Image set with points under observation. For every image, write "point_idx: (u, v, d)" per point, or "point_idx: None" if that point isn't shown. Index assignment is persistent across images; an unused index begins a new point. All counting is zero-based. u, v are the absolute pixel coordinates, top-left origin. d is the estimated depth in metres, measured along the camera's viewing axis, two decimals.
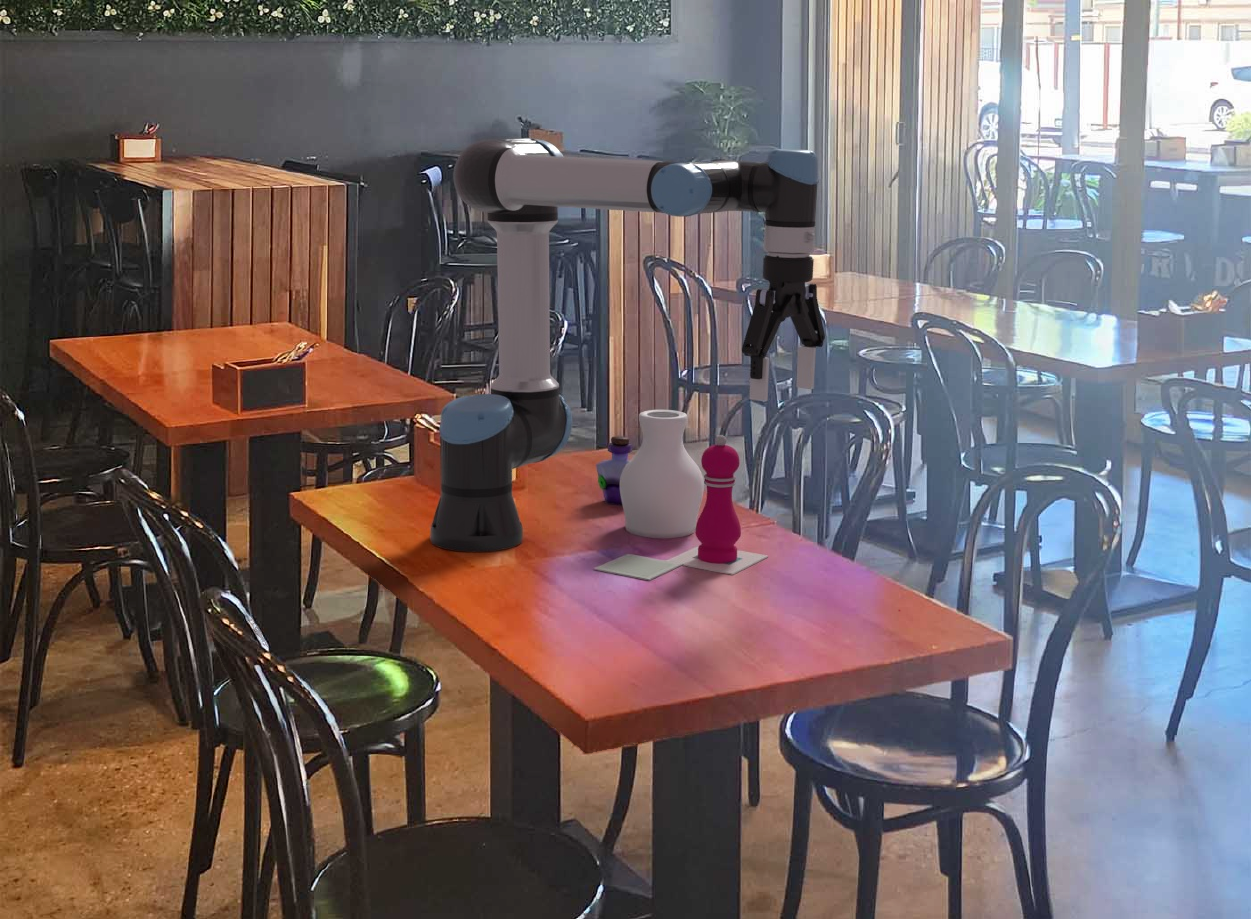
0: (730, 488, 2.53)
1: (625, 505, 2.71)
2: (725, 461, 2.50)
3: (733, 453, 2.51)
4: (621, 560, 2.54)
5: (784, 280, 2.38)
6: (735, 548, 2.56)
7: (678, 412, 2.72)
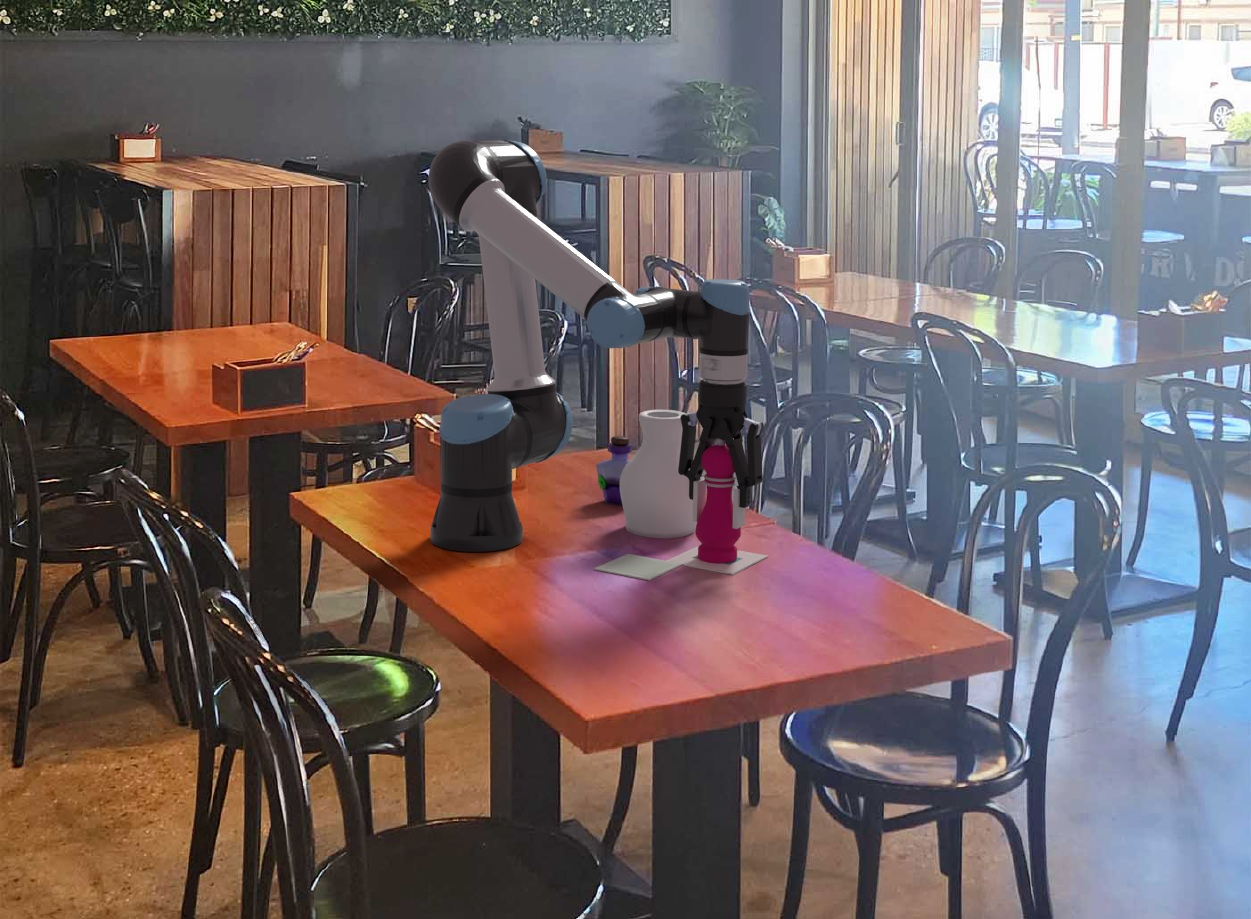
0: (730, 488, 2.53)
1: (625, 505, 2.71)
2: (725, 461, 2.50)
3: None
4: (621, 560, 2.54)
5: None
6: (735, 548, 2.56)
7: (678, 412, 2.72)
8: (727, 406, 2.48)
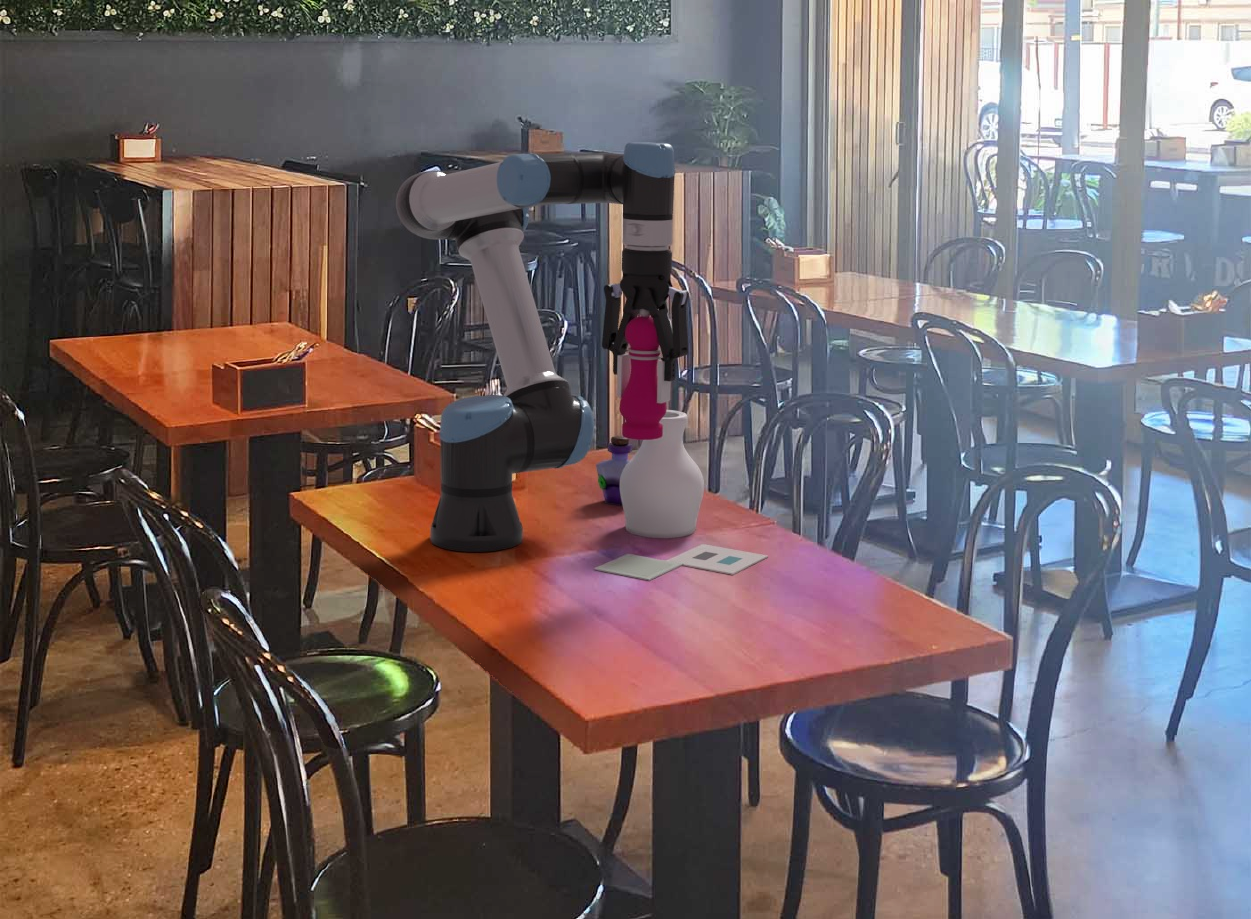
0: (655, 361, 2.44)
1: (625, 505, 2.71)
2: (649, 332, 2.41)
3: None
4: (621, 560, 2.54)
5: None
6: (660, 425, 2.46)
7: (678, 412, 2.72)
8: (651, 273, 2.38)
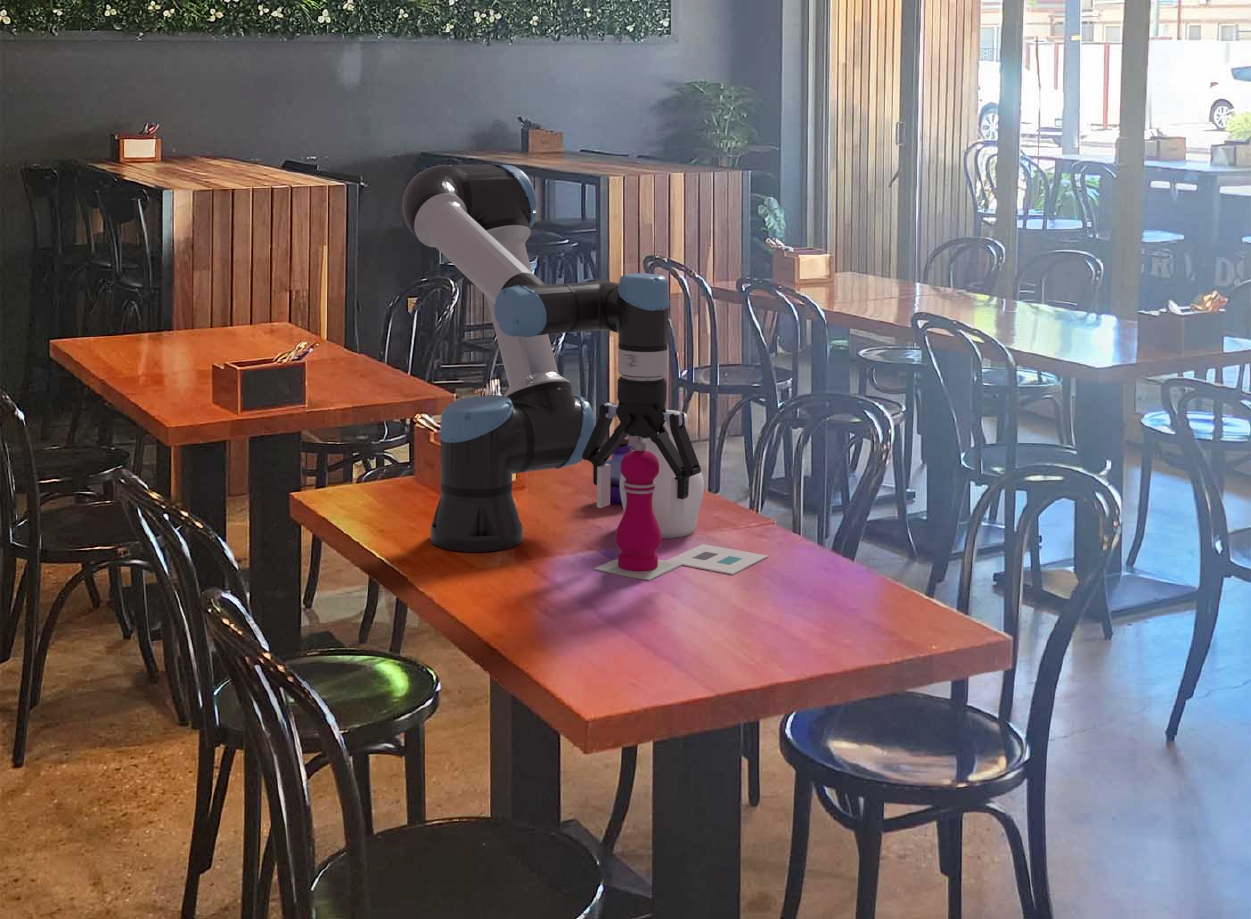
0: (650, 494, 2.48)
1: (625, 505, 2.71)
2: (644, 467, 2.45)
3: (652, 458, 2.46)
4: None
5: None
6: (656, 556, 2.51)
7: None
8: (646, 403, 2.42)
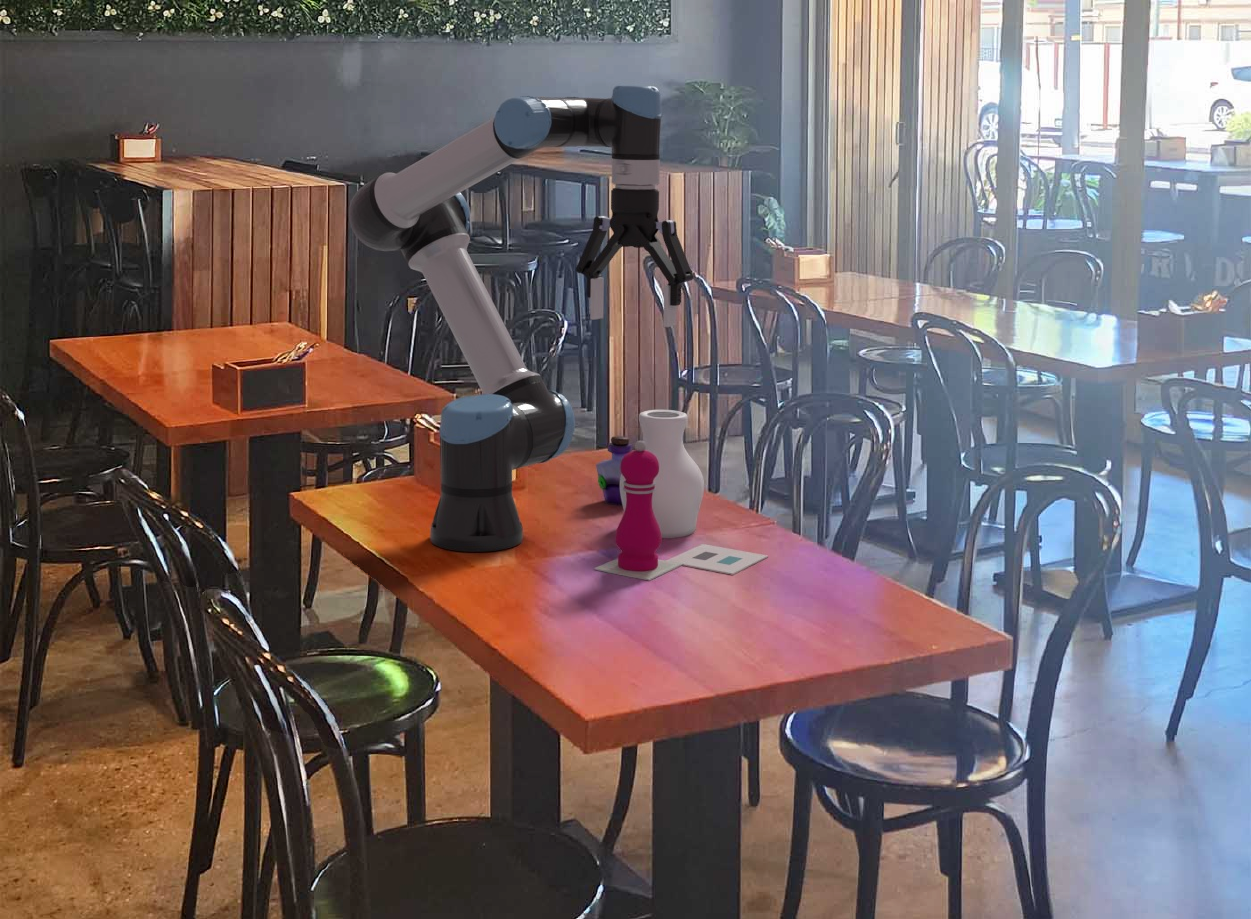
0: (650, 495, 2.48)
1: (625, 505, 2.71)
2: (644, 467, 2.45)
3: (652, 458, 2.46)
4: None
5: None
6: (656, 556, 2.51)
7: (678, 412, 2.72)
8: (638, 211, 2.49)
